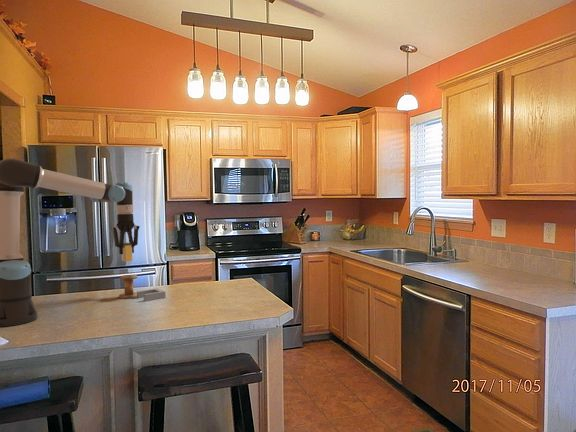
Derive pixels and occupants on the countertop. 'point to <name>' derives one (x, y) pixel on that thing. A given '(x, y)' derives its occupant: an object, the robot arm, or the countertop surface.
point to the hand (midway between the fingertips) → (127, 260)
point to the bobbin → (128, 287)
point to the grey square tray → (151, 294)
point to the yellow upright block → (127, 252)
